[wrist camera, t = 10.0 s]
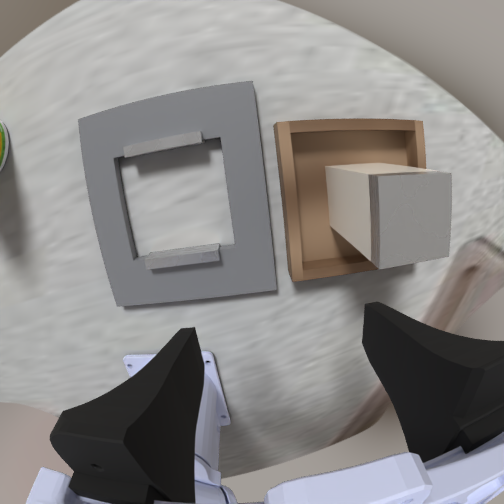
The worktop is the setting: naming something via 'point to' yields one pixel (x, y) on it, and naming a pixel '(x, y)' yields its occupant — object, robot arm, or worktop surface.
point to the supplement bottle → (3, 144)
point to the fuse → (391, 211)
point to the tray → (315, 186)
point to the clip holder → (238, 185)
